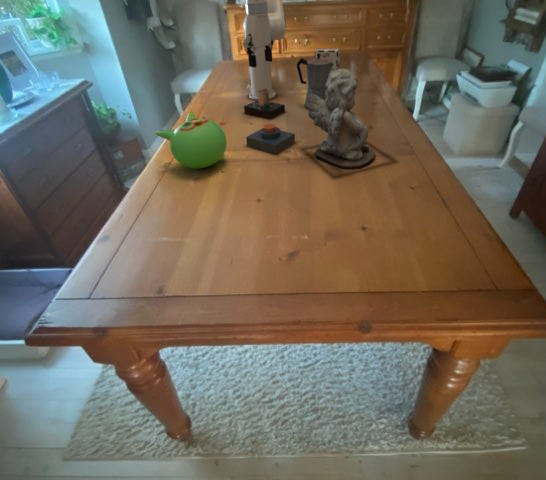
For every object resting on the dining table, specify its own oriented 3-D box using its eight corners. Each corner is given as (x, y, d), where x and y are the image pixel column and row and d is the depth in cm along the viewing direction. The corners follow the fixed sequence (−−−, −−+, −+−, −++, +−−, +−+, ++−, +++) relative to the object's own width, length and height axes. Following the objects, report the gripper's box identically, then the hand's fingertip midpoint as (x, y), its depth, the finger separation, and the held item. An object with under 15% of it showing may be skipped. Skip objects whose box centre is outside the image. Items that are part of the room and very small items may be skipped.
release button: (262, 132, 119) (261, 127, 118) (269, 128, 121) (268, 123, 120) (271, 134, 117) (270, 129, 116) (278, 130, 120) (277, 125, 118)
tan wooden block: (264, 107, 142) (263, 92, 138) (256, 105, 144) (255, 90, 140) (271, 104, 145) (270, 89, 141) (263, 102, 147) (262, 88, 143)
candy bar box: (339, 87, 169) (341, 48, 157) (336, 90, 165) (338, 50, 154) (317, 86, 172) (317, 47, 161) (313, 88, 169) (314, 49, 157)
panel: (244, 113, 147) (243, 105, 145) (259, 106, 153) (258, 99, 150) (270, 119, 140) (270, 111, 138) (285, 112, 146) (284, 104, 144)
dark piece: (247, 146, 122) (245, 131, 119) (266, 135, 129) (265, 121, 125) (276, 154, 116) (275, 139, 113) (294, 142, 123) (294, 128, 119)
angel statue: (333, 177, 103) (339, 86, 86) (302, 149, 118) (301, 67, 101) (395, 161, 109) (411, 73, 92) (357, 137, 124) (365, 57, 107)
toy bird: (202, 182, 104) (191, 133, 94) (163, 169, 111) (149, 123, 101) (239, 158, 115) (233, 112, 105) (201, 148, 122) (192, 104, 112)
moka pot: (330, 110, 145) (333, 56, 132) (294, 109, 148) (293, 56, 134) (333, 103, 152) (336, 50, 139) (298, 102, 155) (298, 50, 141)
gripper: (263, 6, 129) (267, 58, 141) (232, 12, 119) (239, 68, 131) (279, 6, 126) (282, 60, 137) (249, 13, 116) (254, 70, 127)
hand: (261, 64), depth 134 cm, fingers open, 9 cm apart
